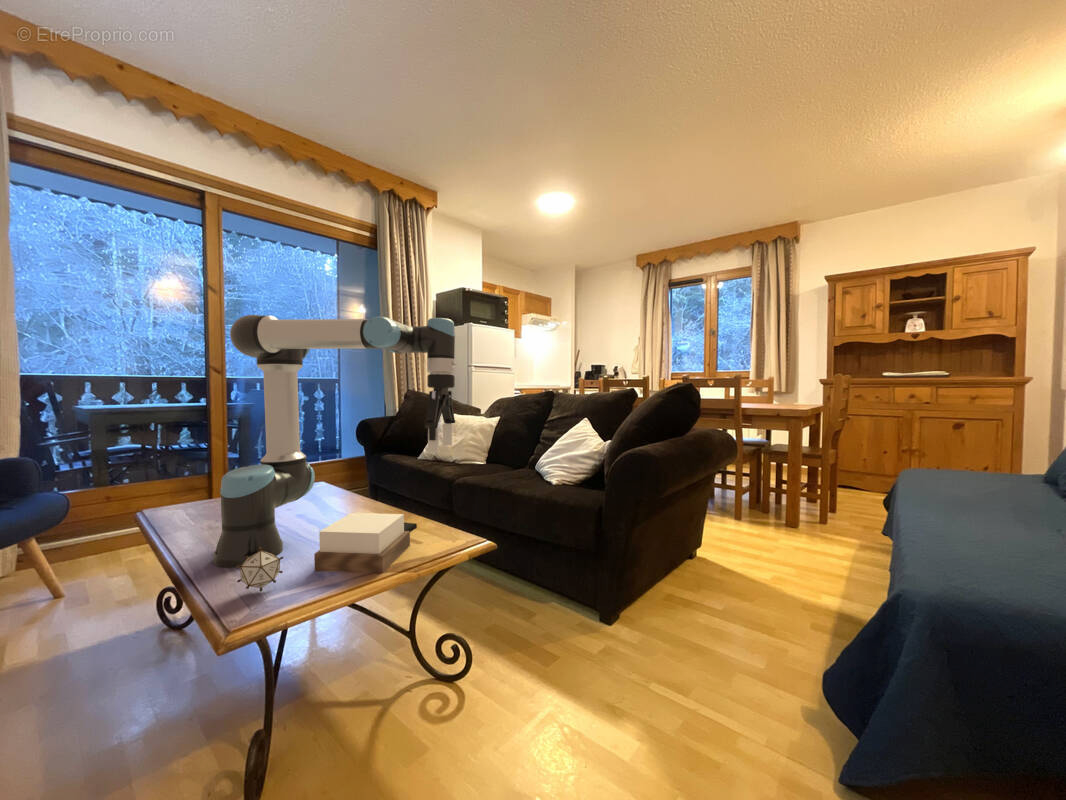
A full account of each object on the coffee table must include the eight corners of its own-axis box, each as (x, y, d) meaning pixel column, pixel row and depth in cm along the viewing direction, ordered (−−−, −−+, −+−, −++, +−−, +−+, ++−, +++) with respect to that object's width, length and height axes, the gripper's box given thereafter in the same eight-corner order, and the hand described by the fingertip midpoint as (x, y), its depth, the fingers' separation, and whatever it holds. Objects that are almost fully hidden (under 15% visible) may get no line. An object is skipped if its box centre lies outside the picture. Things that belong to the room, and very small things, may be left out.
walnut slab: (314, 574, 99) (314, 553, 99) (351, 546, 116) (351, 529, 116) (382, 576, 98) (382, 556, 98) (409, 548, 115) (409, 531, 115)
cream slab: (319, 551, 100) (319, 531, 100) (352, 530, 115) (351, 512, 115) (379, 553, 99) (378, 533, 99) (404, 532, 114) (403, 514, 114)
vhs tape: (367, 544, 118) (367, 537, 118) (395, 527, 132) (395, 521, 132) (391, 546, 116) (391, 539, 116) (416, 529, 130) (416, 523, 130)
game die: (266, 603, 85) (265, 555, 85) (225, 602, 85) (225, 554, 85) (292, 582, 94) (292, 539, 93) (255, 582, 94) (255, 538, 94)
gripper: (441, 372, 104) (441, 456, 105) (464, 375, 129) (464, 442, 130) (412, 372, 105) (412, 455, 105) (440, 375, 130) (440, 442, 130)
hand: (440, 448), depth 118 cm, fingers open, 13 cm apart
